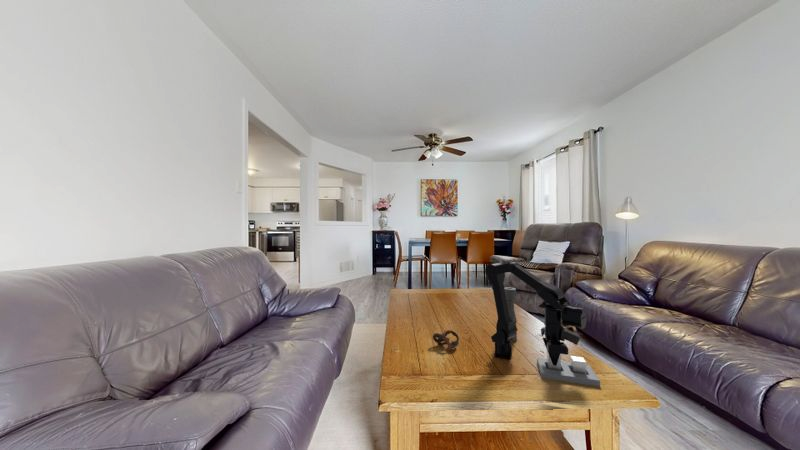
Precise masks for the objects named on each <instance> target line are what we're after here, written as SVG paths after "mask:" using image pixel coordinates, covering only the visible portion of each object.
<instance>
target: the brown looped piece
mask: <svg viewBox="0 0 800 450" xmlns="http://www.w3.org/2000/svg"><path fill="white" fill-rule="evenodd" d="M450 334H451V335H452V336H454V337H455V338H456V340H454V341H452V340H451V342H450V338H449V337H447V336H448V335H450ZM432 339H433V342H435V343H437V345H439V346H440V344H441V343H442V342H444V343H445V344H446V345H447V347H446V349H447V351H451V350H452V349H454V348H456V347H458V346H459V343H460V341H459V340H460V337H459V335H458V334H457V332H456V331H453V330H450V329H448V330H447V329H446V330H444V331H443V332H442V333H439V332H437V333H433V334H432Z"/></svg>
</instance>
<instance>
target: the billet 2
mask: <svg viewBox="0 0 800 450" xmlns="http://www.w3.org/2000/svg"><path fill="white" fill-rule="evenodd" d="M570 362H571V372H572V373H579V374H586V364H587V361H586V359H585V358H584V357H583V356H582V357H581V356H575V355H570Z"/></svg>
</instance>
